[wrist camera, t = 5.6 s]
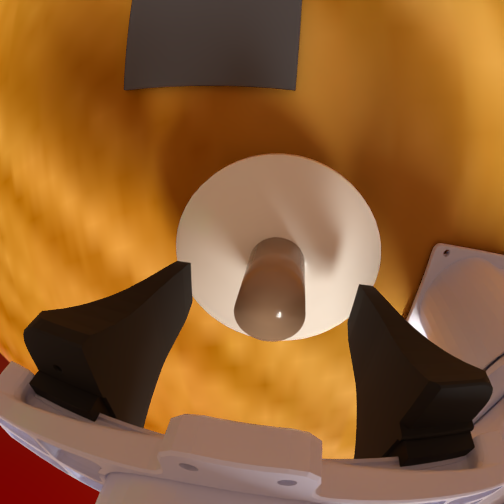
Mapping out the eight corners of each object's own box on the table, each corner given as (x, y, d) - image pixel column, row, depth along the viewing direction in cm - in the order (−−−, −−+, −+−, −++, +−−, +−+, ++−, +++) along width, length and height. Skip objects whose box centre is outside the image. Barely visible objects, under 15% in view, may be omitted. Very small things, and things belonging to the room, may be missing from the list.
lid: (392, 165, 12) (435, 194, 8) (355, 336, 17) (365, 400, 12) (175, 151, 13) (123, 173, 9) (189, 320, 18) (162, 379, 14)
